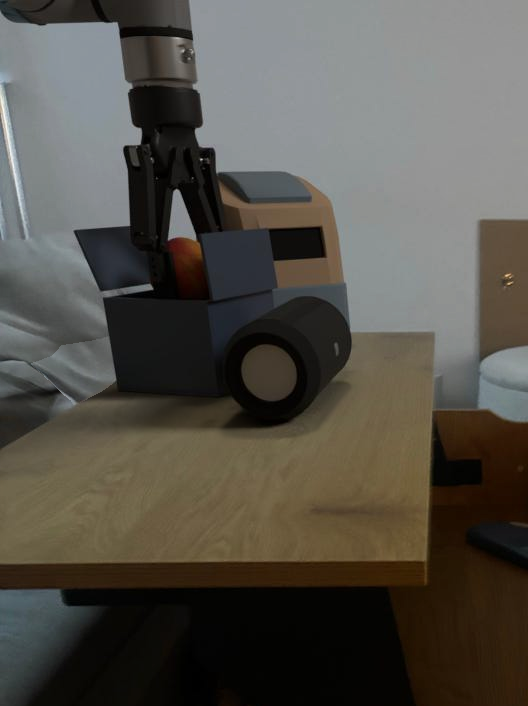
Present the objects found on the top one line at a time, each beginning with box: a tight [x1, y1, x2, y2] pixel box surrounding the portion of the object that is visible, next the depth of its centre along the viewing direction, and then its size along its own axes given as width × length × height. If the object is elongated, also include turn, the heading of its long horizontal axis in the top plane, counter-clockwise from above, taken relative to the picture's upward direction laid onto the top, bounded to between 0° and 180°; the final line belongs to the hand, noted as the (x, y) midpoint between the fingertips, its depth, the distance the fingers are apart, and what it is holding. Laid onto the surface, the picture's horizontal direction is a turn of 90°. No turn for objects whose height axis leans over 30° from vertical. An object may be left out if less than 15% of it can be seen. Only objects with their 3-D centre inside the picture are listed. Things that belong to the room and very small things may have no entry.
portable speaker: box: [222, 296, 353, 422], centre depth 107 cm, size 26×10×10 cm, turn 178°
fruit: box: [149, 236, 211, 301], centre depth 114 cm, size 8×8×8 cm
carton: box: [102, 228, 278, 398], centre depth 116 cm, size 15×14×17 cm
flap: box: [73, 225, 157, 293], centre depth 116 cm, size 7×14×1 cm
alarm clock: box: [195, 170, 351, 330], centre depth 132 cm, size 17×17×23 cm
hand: (191, 308), depth 116 cm, fingers closed on fruit, 8 cm apart
